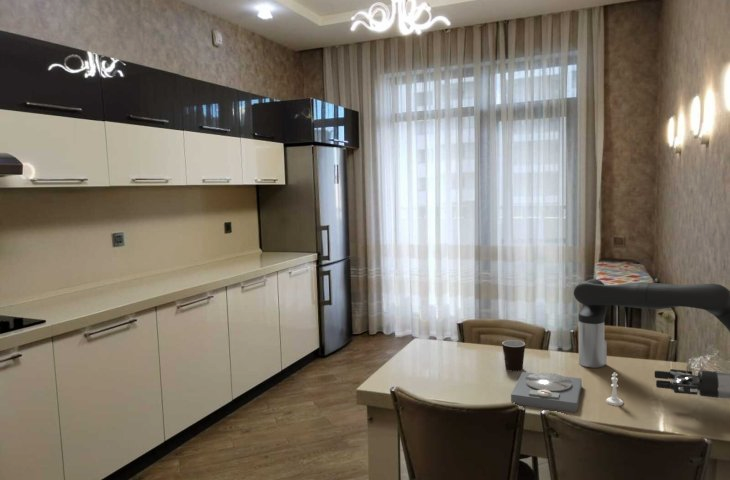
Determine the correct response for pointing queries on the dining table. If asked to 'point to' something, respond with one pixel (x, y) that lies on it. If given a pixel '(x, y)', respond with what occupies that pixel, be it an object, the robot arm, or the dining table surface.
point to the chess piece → (614, 393)
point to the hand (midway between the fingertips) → (655, 378)
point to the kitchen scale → (547, 391)
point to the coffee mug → (513, 354)
